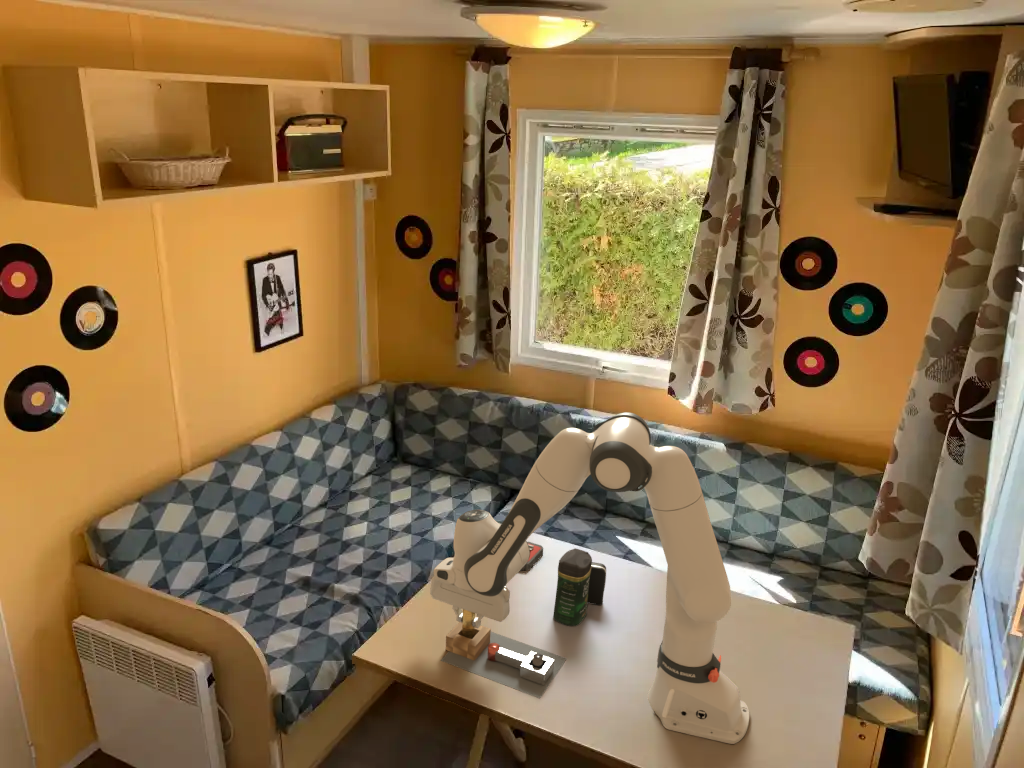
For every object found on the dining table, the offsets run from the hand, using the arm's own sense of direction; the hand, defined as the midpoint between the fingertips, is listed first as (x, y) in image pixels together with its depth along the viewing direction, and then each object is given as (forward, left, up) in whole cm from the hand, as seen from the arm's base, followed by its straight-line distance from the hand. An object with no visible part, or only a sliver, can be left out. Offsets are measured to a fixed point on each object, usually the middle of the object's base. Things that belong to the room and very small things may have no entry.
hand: (468, 623), depth 191 cm
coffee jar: (-17, -25, -7) cm, 31 cm away
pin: (0, 0, -4) cm, 4 cm away
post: (-19, +1, -7) cm, 20 cm away
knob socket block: (-14, +1, -6) cm, 16 cm away
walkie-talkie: (+6, -42, -8) cm, 43 cm away
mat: (-10, 0, -7) cm, 12 cm away
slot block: (0, 0, -7) cm, 7 cm away
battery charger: (-19, -35, -7) cm, 41 cm away
